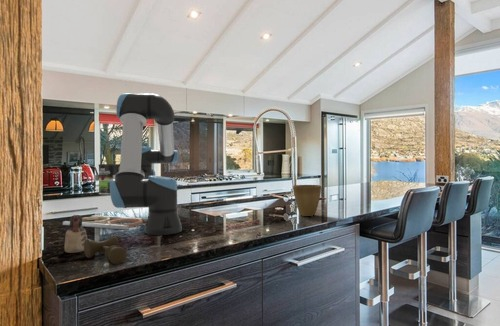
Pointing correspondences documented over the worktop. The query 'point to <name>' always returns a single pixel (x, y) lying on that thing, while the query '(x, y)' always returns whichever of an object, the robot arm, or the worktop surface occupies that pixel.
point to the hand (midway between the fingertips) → (104, 178)
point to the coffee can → (106, 177)
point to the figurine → (75, 235)
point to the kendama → (106, 249)
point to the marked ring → (137, 221)
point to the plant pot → (307, 198)
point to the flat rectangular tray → (104, 220)
